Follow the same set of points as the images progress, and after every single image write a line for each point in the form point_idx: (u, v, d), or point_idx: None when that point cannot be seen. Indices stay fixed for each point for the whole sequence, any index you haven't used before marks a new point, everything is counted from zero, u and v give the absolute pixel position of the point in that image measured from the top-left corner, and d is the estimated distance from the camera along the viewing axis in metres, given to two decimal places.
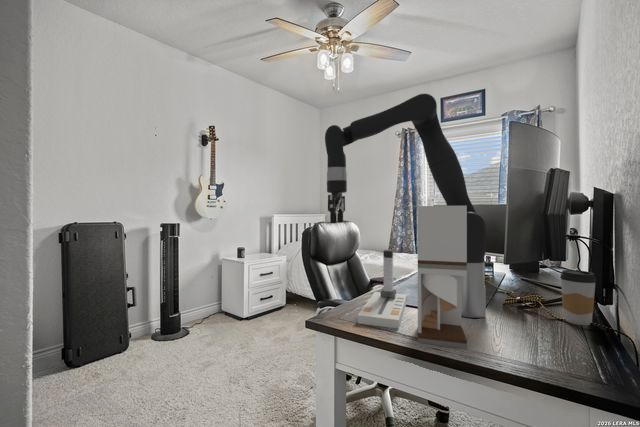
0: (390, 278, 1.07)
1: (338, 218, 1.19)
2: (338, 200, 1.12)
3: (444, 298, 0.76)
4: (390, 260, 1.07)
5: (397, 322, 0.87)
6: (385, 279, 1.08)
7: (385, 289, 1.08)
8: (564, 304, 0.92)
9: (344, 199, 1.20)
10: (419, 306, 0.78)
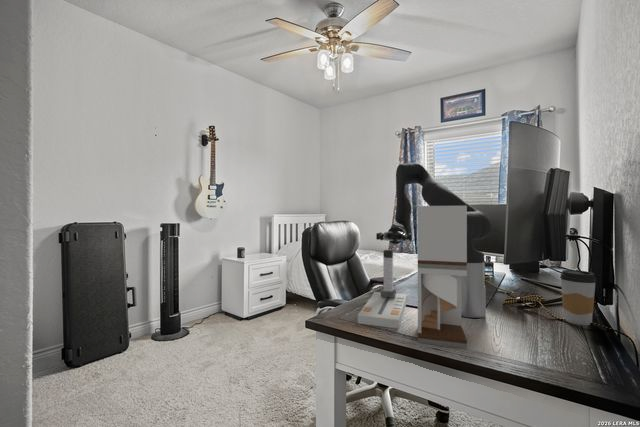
0: (390, 278, 1.07)
1: None
2: None
3: (444, 298, 0.76)
4: (390, 260, 1.07)
5: (397, 322, 0.87)
6: (385, 279, 1.08)
7: (385, 289, 1.08)
8: (564, 304, 0.92)
9: (410, 233, 1.26)
10: (419, 306, 0.78)
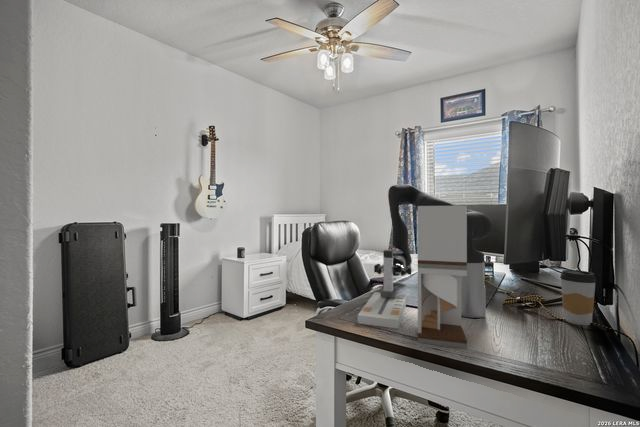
0: (390, 278, 1.07)
1: None
2: None
3: (444, 298, 0.76)
4: (390, 260, 1.07)
5: (397, 322, 0.87)
6: (385, 279, 1.08)
7: (385, 289, 1.08)
8: (564, 304, 0.92)
9: (409, 266, 1.20)
10: (419, 306, 0.78)
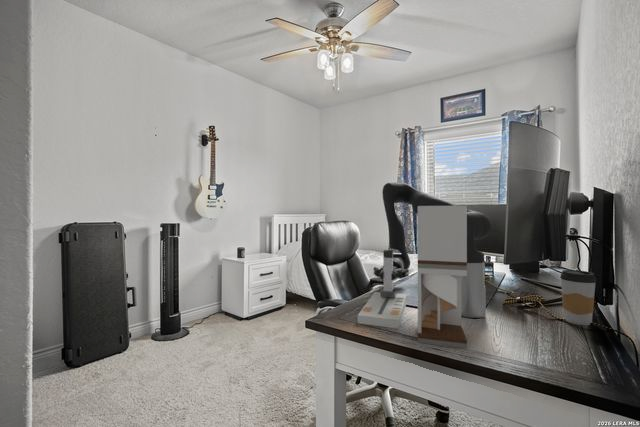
0: (390, 278, 1.07)
1: None
2: None
3: (444, 298, 0.76)
4: (390, 260, 1.07)
5: (397, 322, 0.87)
6: (385, 279, 1.08)
7: (385, 289, 1.08)
8: (564, 304, 0.92)
9: (406, 269, 1.13)
10: (419, 306, 0.78)
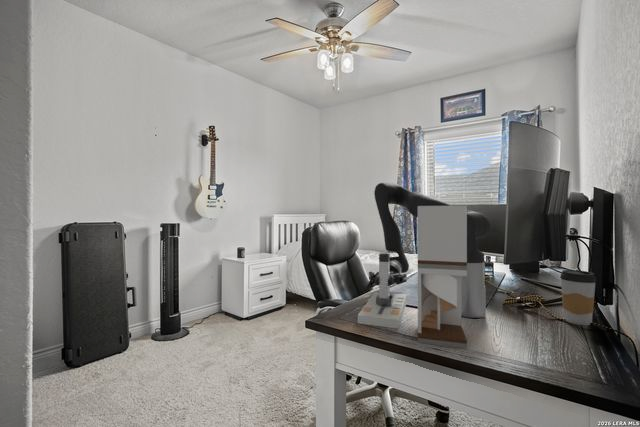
0: (387, 284, 0.99)
1: None
2: None
3: (444, 298, 0.76)
4: (386, 265, 0.99)
5: (397, 322, 0.87)
6: (381, 285, 0.99)
7: (381, 296, 1.00)
8: (564, 304, 0.92)
9: (403, 274, 1.04)
10: (419, 306, 0.78)
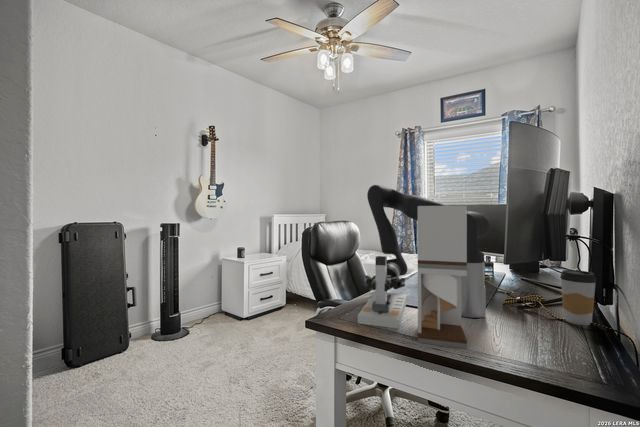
0: (383, 289, 0.93)
1: None
2: None
3: (444, 298, 0.76)
4: (383, 268, 0.93)
5: (397, 322, 0.87)
6: (377, 290, 0.93)
7: (377, 301, 0.93)
8: (564, 304, 0.92)
9: (401, 278, 0.98)
10: (419, 306, 0.78)
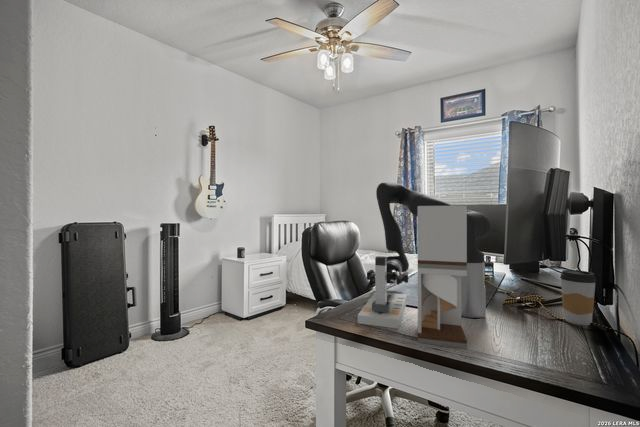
0: (383, 289, 0.92)
1: None
2: None
3: (444, 298, 0.76)
4: (382, 268, 0.92)
5: (397, 322, 0.87)
6: (377, 290, 0.93)
7: (377, 302, 0.93)
8: (564, 304, 0.92)
9: (406, 272, 1.07)
10: (419, 306, 0.78)
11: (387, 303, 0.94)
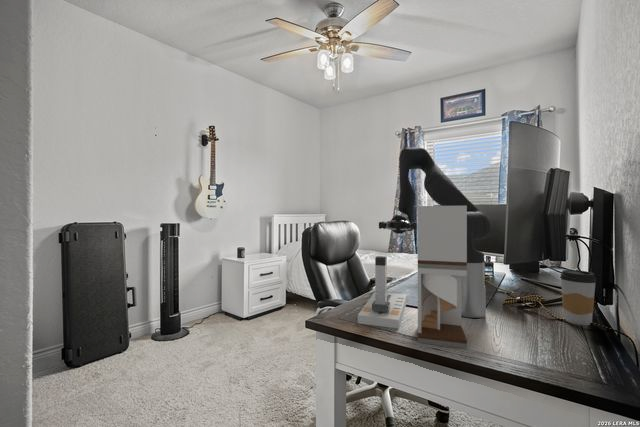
0: (383, 289, 0.92)
1: None
2: None
3: (444, 298, 0.76)
4: (382, 268, 0.92)
5: (397, 322, 0.87)
6: (377, 290, 0.93)
7: (377, 302, 0.93)
8: (564, 304, 0.92)
9: None
10: (419, 306, 0.78)
11: (387, 303, 0.94)
